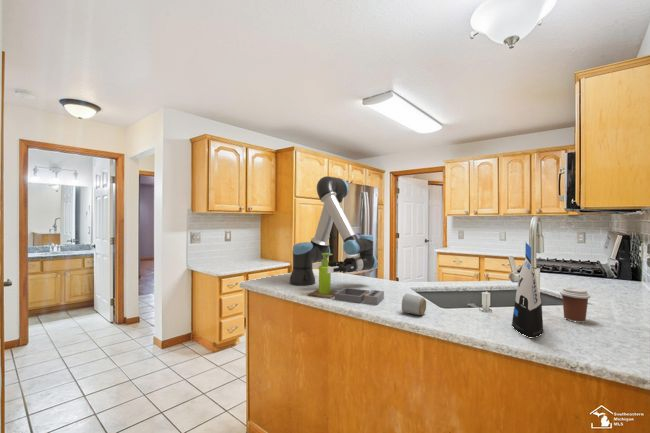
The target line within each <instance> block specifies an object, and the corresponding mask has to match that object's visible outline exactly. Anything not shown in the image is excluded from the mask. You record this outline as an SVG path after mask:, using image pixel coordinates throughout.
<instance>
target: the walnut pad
mask: <svg viewBox="0 0 650 433" xmlns="http://www.w3.org/2000/svg"><path fill="white" fill-rule="evenodd" d="M338 291H339V290H333V289H331V291H330V294H320V293H319V288H317V289H315V290H313V291H311V292H309V293H307V296H308V297H314V298H320V299H321V298H322V299H329V300H331V299H332V298H335V293H336V292H338Z"/></svg>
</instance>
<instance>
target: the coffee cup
mask: <svg viewBox="0 0 650 433" xmlns="http://www.w3.org/2000/svg"><path fill="white" fill-rule="evenodd" d="M559 294H560V295H561V296H562V309H563V319H564V318H566V319H568V320H571V321H576V322H575V323H577V322H585V321H586V322H587V320H586V319H587V310H588V303H589V302H588V301H589V299H590V298H591V295H590V294H589V293H588V290H587V289H584V288H579V287H573V286H565V287H563V289H562V290H560V291H559ZM568 320H567V321H568ZM571 321H570V322H571ZM586 322H585V323H586Z"/></svg>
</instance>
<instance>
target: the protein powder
mask: <svg viewBox="0 0 650 433" xmlns="http://www.w3.org/2000/svg"><path fill="white" fill-rule="evenodd" d="M524 252H525V259H524V261H523V263H522V266H521V269H520V272H519V275H518V279H517V280H518V281H517V287H516V293H515V294H516V295H515V299H514V307H513V312H512V313H513V314H512V320H511V327H512V326H513V327H514V328H513V327H512V328H513V330H515V329H516V330H517V331H518V332H520V333H521V334H520V333H519V334H520V335H522V334H524V335H526V336H528V337H535V338H537V337H536V336H539V335H540V334H542V333H543V334H544V322H543V321H544V319H543V307H542V306H543V303H542V300H541V299H542V298H541V296H540V292H539V289H538V284H537V283H538V282H537V276H536V274H535V271H534V269H533V266H532V247H531V246H530V244H528V243H527V242H525V249H524ZM516 330H515V331H516ZM517 331H516V332H517ZM518 332H517V333H518ZM543 334H542V335H543ZM524 335H523V336H524ZM526 336H525V337H526ZM540 336H541V335H540ZM540 336H539V337H540ZM528 337H527V338H528Z"/></svg>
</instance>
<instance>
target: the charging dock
mask: <svg viewBox="0 0 650 433" xmlns="http://www.w3.org/2000/svg"><path fill="white" fill-rule="evenodd" d="M337 291H338V292H336V293H335V296H334V300H335V301H339V302H340V301H341V302H348V303H353V304H354V303H355V304H362V303H364V304H365V305H371V306H372V305H373V306H378V305H379V304H380V303H382V301H383V300H384V299H385V290H384V291H383V290H377V289H371V290H367V289H360V288H350V287H343V288H341V289H340V290H337Z"/></svg>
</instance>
